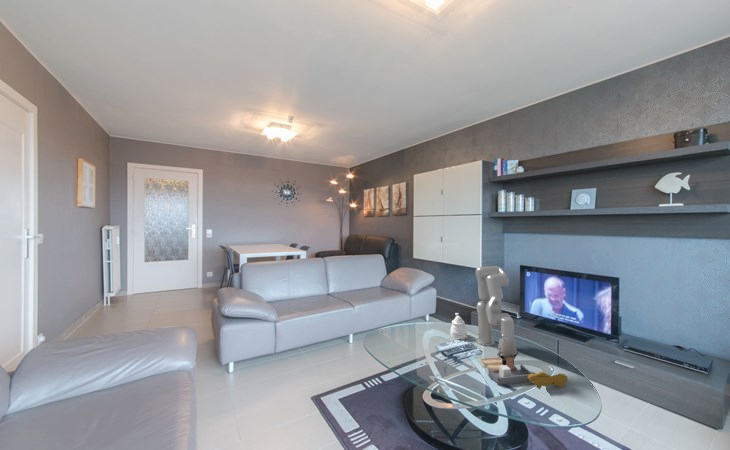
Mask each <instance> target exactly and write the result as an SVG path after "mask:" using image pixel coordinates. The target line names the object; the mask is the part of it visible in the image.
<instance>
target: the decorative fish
mask: <svg viewBox="0 0 730 450" xmlns="http://www.w3.org/2000/svg"><path fill="white" fill-rule="evenodd" d="M528 379H529V380H530V382H531V383H533V384H534V385H535V386H536V385H537V388H538V390H541V389H542V387H548V386H549V387H550V386H553V385H556V386H557V387H559V388H562V387H564V386H565V385H566V383H567V382H568V381H569V380H568V379H569V378H568V375H566V374H564V373H558V374H554V375H548V374H547V373H546V372H544V371H539V372H537V373H532V374H529V375H528Z"/></svg>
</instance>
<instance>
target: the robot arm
mask: <svg viewBox="0 0 730 450" xmlns="http://www.w3.org/2000/svg"><path fill="white" fill-rule="evenodd" d="M475 277H476V280H477V289H478V290H477V291H478V298H479V299H480V300H481V301H478V302H477V303H476V311H477V312H476V313H477V320H478V321H477V322H478V323H477V327H478V328H477V329H478V333H477V335H478V337H477V338H476V342H477V343H478V344H479V345H483V346H487V347H488V346H489V347H490V346H493V345H495V340H494V339H493V327H492V326H500V338H499V340H498V341H499V342H498V350H497V351H498V352H497V353H496V356H497V357H501V358H502V364H503V365H506V360H505V358H506V356H509V355H511V356H512V357H513V362H514V363H515V359H516V358H517V356H518V355H519V354H520V352H519V351H518V350H517V349H518V348H517V342H516V340H515V337H517V336H516V334H515V322H514V321H515V320H514V319H513V318H512V317H511V315H510V314H509V313H507V312H502V299H504V293H503V289H502V287H508V286H509V284H510V279H509V277H508V275H507V274H506V271H504V270H503V269H502V267H500V266H498V265H497V266H496V265H493V266H478V267H477V268H476V269H475Z"/></svg>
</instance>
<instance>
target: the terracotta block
mask: <svg viewBox="0 0 730 450" xmlns="http://www.w3.org/2000/svg"><path fill="white" fill-rule="evenodd" d="M505 360H506V365H507V366H508V367H514V366H515V361H514V362H513V357H512V356H511V355H509V356H506V358H505Z"/></svg>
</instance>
